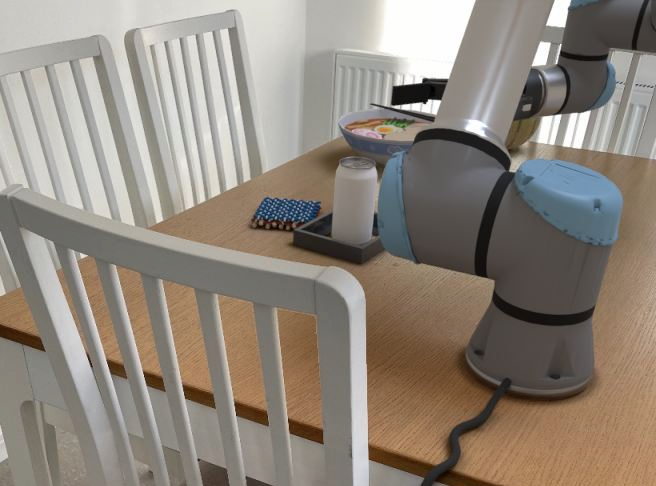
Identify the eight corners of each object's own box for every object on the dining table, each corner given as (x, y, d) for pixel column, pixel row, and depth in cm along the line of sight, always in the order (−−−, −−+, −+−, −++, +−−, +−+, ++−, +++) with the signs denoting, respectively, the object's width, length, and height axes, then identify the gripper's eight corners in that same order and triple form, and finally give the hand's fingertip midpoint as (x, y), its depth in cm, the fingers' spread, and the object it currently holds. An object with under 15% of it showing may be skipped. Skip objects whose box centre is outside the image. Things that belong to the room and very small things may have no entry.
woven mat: (261, 206, 144) (261, 194, 143) (321, 211, 143) (322, 199, 141) (249, 227, 136) (249, 215, 135) (312, 233, 135) (313, 221, 133)
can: (322, 238, 133) (327, 161, 125) (350, 229, 136) (356, 153, 129) (352, 250, 129) (358, 171, 122) (379, 240, 133) (387, 163, 125)
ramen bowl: (307, 158, 165) (309, 115, 160) (383, 138, 177) (387, 96, 172) (402, 191, 151) (407, 144, 146) (477, 166, 163) (485, 122, 158)
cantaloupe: (486, 134, 181) (499, 57, 172) (547, 148, 174) (565, 69, 164) (450, 148, 173) (462, 68, 163) (513, 163, 165) (529, 81, 156)
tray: (361, 264, 125) (362, 248, 124) (292, 244, 131) (293, 229, 129) (407, 234, 135) (409, 220, 133) (342, 217, 140) (343, 203, 139)
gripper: (576, 139, 125) (462, 156, 118) (477, 100, 142) (372, 112, 135) (589, 85, 121) (470, 99, 113) (485, 51, 138) (376, 61, 130)
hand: (416, 106), depth 124 cm, fingers open, 13 cm apart
